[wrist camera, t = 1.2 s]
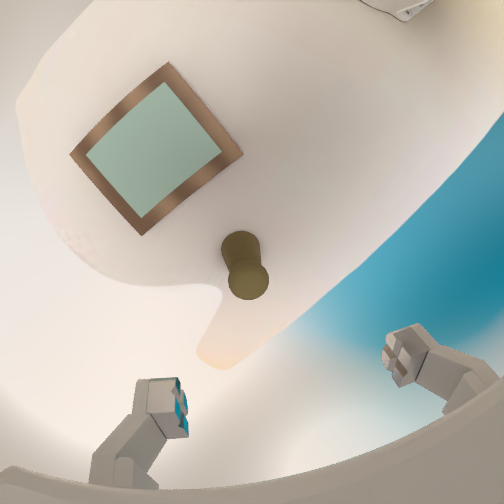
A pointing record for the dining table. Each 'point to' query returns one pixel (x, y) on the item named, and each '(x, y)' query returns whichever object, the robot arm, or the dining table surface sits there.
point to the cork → (244, 265)
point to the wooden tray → (155, 149)
